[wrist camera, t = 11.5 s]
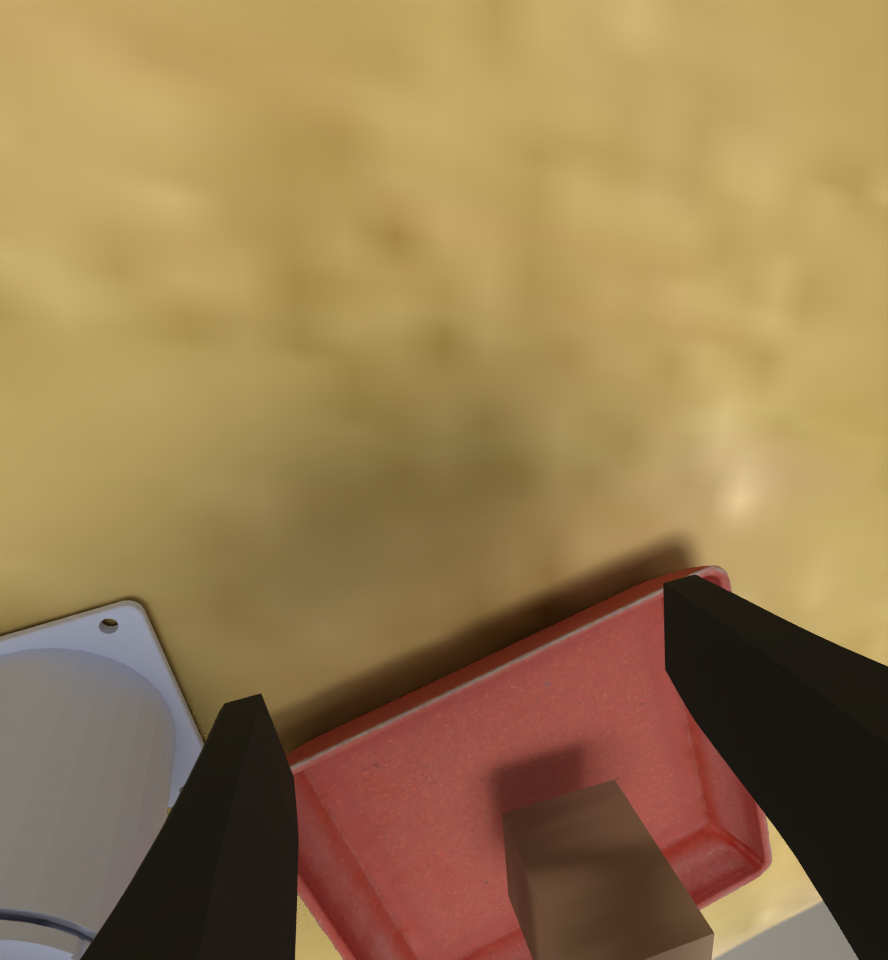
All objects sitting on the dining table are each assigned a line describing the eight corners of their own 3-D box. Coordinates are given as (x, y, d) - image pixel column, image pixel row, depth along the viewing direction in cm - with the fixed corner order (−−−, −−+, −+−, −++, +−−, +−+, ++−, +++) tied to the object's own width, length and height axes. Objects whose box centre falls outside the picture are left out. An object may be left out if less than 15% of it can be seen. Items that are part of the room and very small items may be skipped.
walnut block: (508, 896, 26) (576, 1074, 21) (501, 814, 24) (575, 985, 19) (613, 860, 27) (704, 1022, 22) (614, 779, 25) (714, 933, 20)
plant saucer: (676, 520, 26) (732, 561, 23) (731, 814, 34) (779, 873, 31) (230, 724, 24) (228, 798, 21) (400, 988, 32) (417, 1068, 29)
